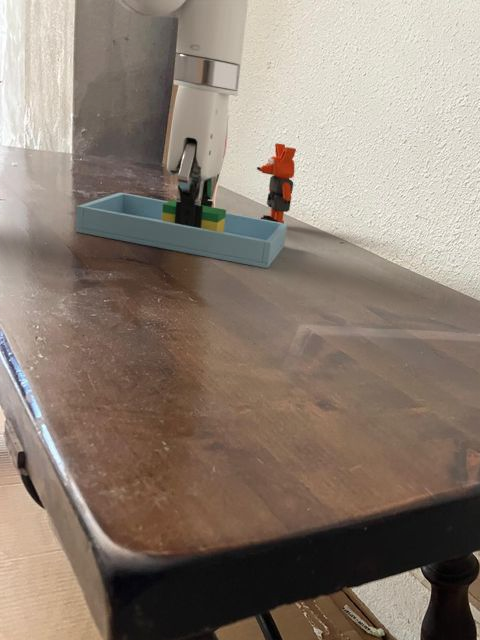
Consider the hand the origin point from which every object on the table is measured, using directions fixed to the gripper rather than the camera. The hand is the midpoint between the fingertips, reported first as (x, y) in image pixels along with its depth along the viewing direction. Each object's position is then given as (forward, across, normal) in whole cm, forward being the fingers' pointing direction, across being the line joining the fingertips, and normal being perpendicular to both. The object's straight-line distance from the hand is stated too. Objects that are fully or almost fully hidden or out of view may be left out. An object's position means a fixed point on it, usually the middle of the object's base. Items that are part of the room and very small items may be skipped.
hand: (192, 231), depth 94 cm
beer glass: (+2, -19, -4) cm, 19 cm away
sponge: (+1, 0, 0) cm, 1 cm away
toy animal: (+2, -25, +6) cm, 26 cm away
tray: (+1, -2, -1) cm, 3 cm away
